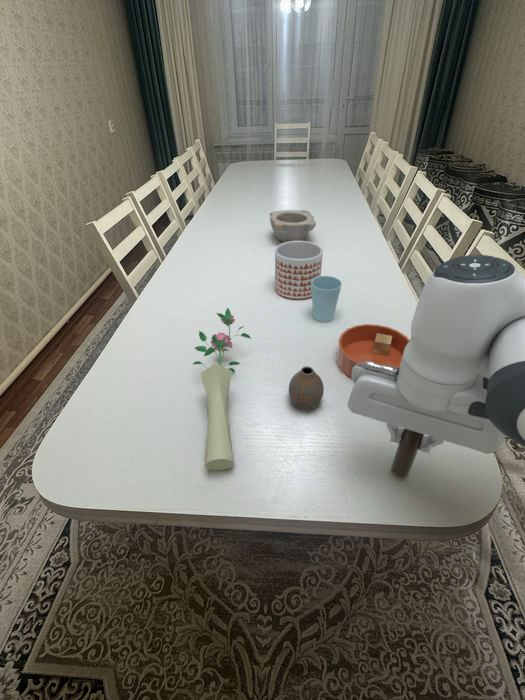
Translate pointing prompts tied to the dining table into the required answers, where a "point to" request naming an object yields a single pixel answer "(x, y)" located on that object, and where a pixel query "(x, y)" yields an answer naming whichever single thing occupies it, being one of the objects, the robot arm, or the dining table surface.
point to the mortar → (292, 224)
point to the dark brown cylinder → (406, 452)
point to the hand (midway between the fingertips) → (409, 443)
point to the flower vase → (218, 399)
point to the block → (382, 344)
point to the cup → (325, 297)
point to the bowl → (368, 347)
